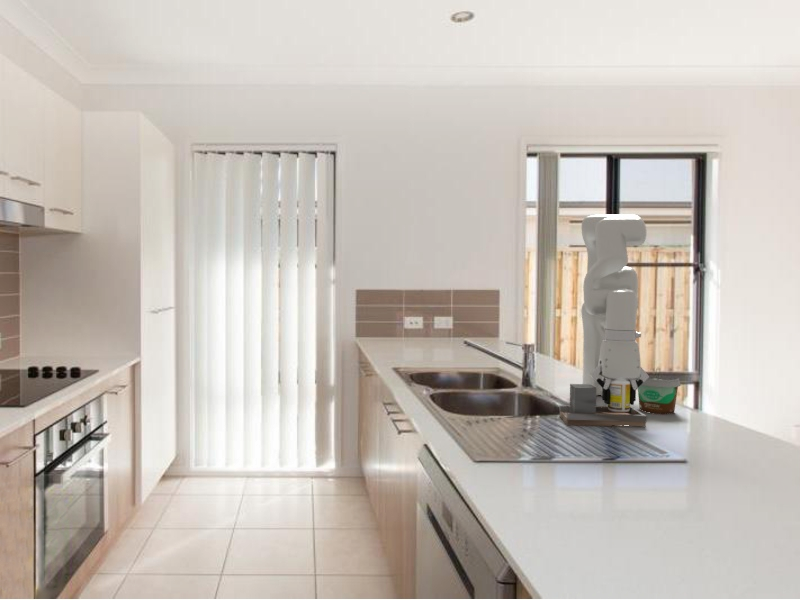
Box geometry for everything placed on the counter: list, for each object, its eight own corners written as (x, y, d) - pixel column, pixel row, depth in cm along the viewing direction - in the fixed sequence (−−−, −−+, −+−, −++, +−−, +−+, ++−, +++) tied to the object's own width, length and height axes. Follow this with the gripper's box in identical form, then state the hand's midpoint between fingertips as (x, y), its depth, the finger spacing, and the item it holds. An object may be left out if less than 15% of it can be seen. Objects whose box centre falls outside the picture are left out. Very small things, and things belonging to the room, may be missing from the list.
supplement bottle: (625, 408, 164) (626, 371, 163) (632, 413, 158) (633, 374, 158) (604, 408, 164) (605, 370, 163) (611, 412, 158) (612, 374, 158)
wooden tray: (559, 415, 167) (559, 382, 167) (632, 417, 166) (633, 383, 166) (567, 425, 156) (568, 389, 156) (646, 427, 155) (647, 390, 155)
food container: (631, 412, 173) (632, 377, 173) (634, 408, 179) (635, 374, 178) (678, 417, 167) (679, 381, 167) (679, 412, 173) (680, 378, 173)
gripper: (648, 335, 163) (646, 401, 164) (584, 334, 164) (582, 400, 165) (658, 338, 156) (656, 407, 157) (591, 337, 157) (589, 405, 158)
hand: (618, 402), depth 161 cm, fingers closed on supplement bottle, 5 cm apart
